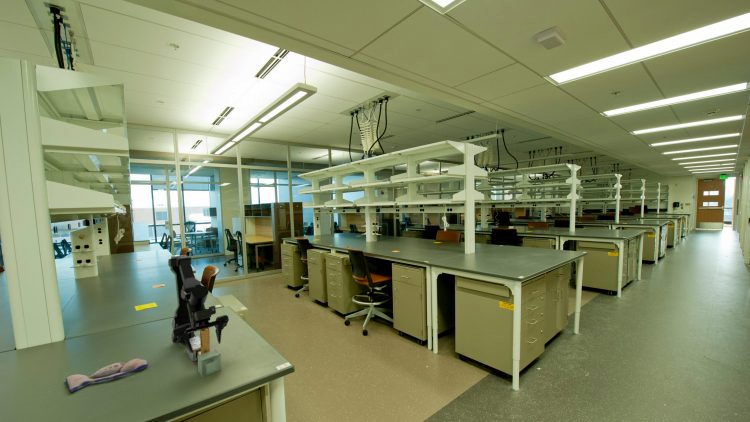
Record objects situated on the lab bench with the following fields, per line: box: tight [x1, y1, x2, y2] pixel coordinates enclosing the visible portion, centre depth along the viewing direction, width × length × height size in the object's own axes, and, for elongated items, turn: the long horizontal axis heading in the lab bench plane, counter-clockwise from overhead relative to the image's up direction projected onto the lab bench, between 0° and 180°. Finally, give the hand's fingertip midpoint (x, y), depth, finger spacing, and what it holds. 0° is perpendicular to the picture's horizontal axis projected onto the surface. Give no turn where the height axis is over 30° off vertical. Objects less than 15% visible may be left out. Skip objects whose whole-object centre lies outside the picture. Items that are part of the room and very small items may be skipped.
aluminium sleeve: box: [184, 335, 201, 362], centre depth 116 cm, size 12×5×5 cm, turn 46°
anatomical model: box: [65, 357, 149, 392], centre depth 103 cm, size 20×3×15 cm
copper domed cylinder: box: [196, 328, 211, 357], centre depth 109 cm, size 20×3×13 cm, turn 46°
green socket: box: [197, 349, 222, 378], centre depth 103 cm, size 6×6×6 cm
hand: (206, 347), depth 105 cm, fingers open, 9 cm apart
